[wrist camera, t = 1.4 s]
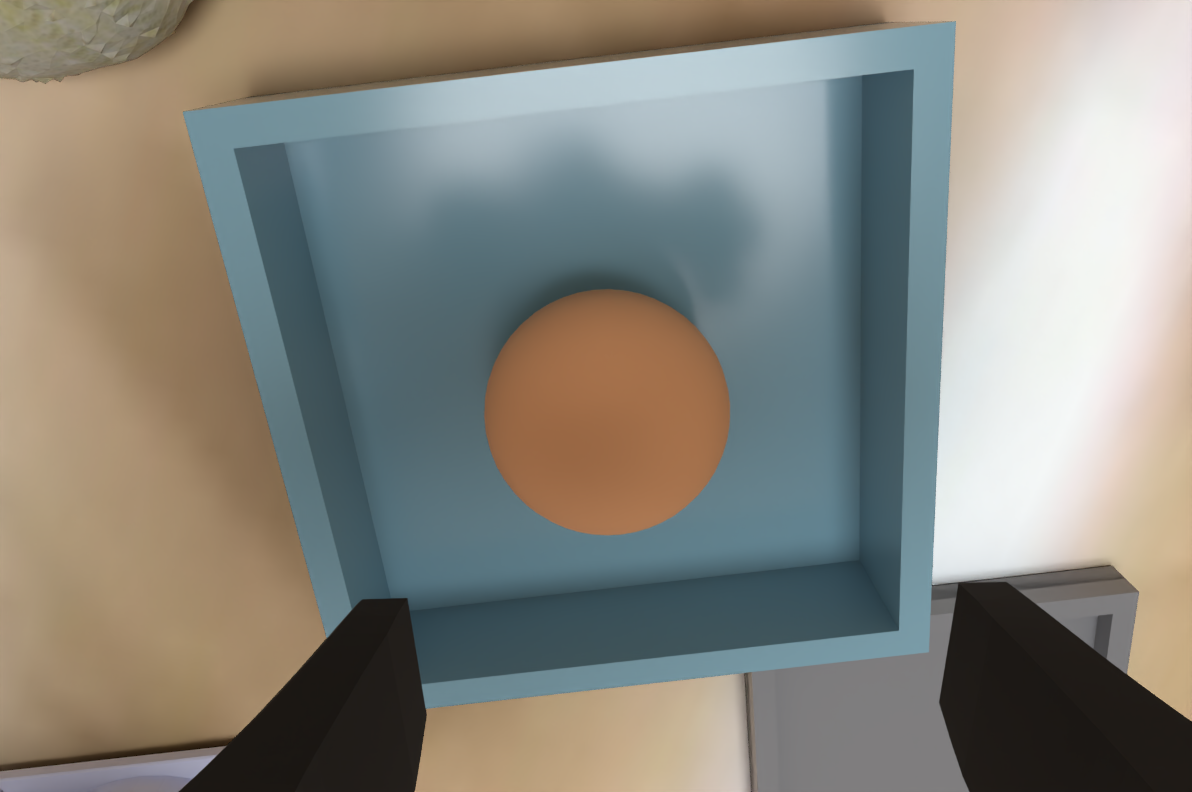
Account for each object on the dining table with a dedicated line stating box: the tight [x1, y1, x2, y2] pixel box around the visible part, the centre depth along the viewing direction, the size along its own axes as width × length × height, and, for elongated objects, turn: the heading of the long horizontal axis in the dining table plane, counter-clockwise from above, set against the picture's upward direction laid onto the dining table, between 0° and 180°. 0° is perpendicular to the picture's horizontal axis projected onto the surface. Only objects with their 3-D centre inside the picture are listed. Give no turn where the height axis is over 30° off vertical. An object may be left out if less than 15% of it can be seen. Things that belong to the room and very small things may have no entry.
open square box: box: [183, 21, 956, 709], centre depth 20 cm, size 13×13×4 cm
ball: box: [484, 289, 730, 535], centre depth 18 cm, size 5×5×5 cm
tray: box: [745, 566, 1139, 792], centre depth 26 cm, size 10×11×1 cm
